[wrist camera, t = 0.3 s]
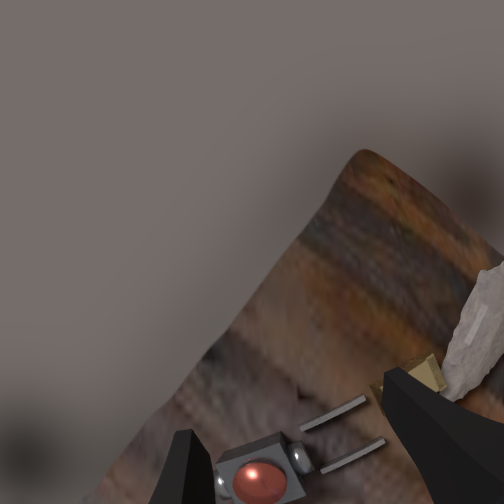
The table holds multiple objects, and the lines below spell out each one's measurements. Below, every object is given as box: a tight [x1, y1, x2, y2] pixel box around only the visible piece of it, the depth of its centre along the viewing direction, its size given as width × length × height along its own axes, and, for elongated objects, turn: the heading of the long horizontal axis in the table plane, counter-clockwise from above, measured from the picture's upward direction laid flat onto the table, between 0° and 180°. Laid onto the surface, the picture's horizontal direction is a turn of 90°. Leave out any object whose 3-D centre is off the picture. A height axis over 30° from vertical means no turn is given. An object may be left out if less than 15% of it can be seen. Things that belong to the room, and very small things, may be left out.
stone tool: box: [439, 261, 504, 402], centre depth 34 cm, size 12×5×25 cm
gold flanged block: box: [369, 353, 447, 416], centre depth 33 cm, size 5×8×5 cm, turn 114°
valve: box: [213, 394, 385, 504], centre depth 30 cm, size 8×22×7 cm, turn 114°
